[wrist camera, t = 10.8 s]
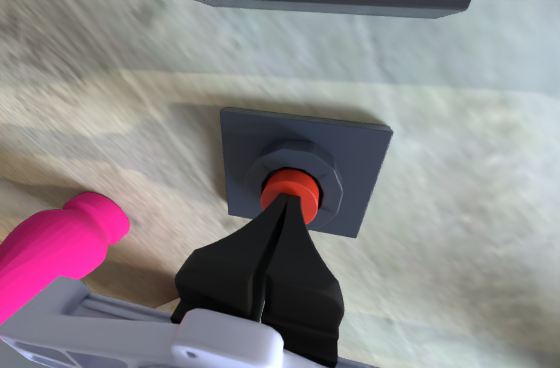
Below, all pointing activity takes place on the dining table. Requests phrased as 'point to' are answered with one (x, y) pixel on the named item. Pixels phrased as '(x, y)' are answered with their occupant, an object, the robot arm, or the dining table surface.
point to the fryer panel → (355, 6)
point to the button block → (303, 163)
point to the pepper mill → (57, 247)
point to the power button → (293, 191)
